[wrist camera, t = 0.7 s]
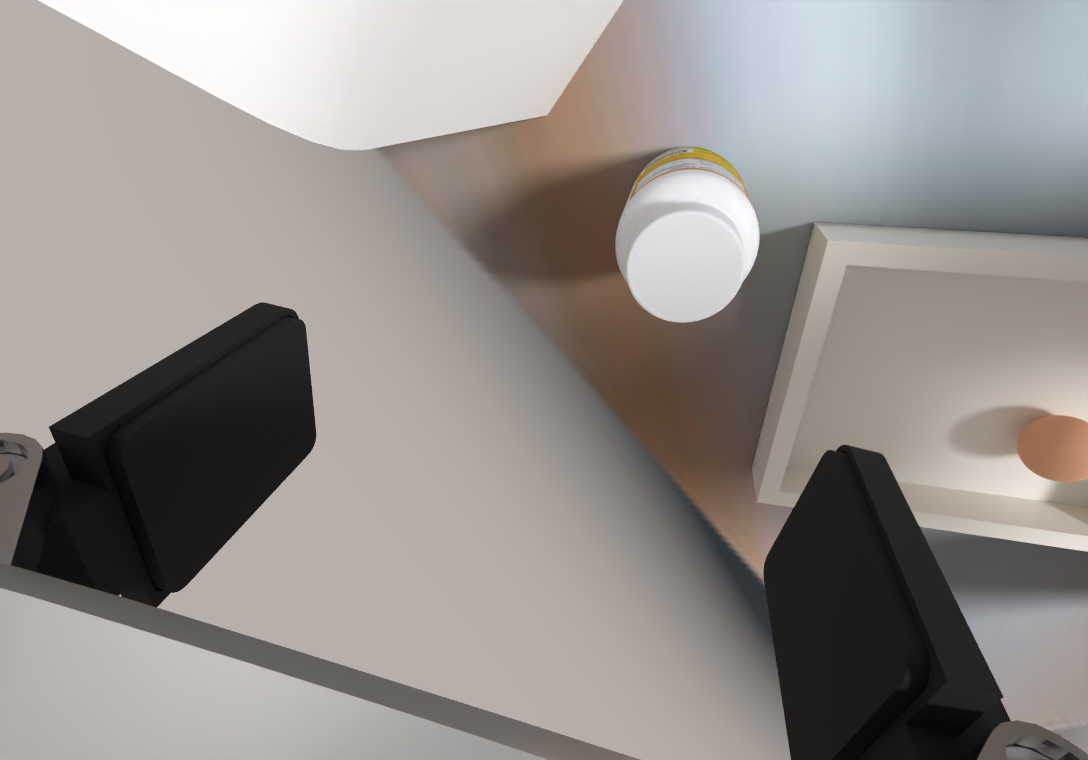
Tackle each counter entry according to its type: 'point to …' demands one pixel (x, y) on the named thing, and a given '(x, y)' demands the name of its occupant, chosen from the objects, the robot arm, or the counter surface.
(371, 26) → the milk
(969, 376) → the tray
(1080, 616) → the counter surface
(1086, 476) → the ball
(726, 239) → the supplement bottle
